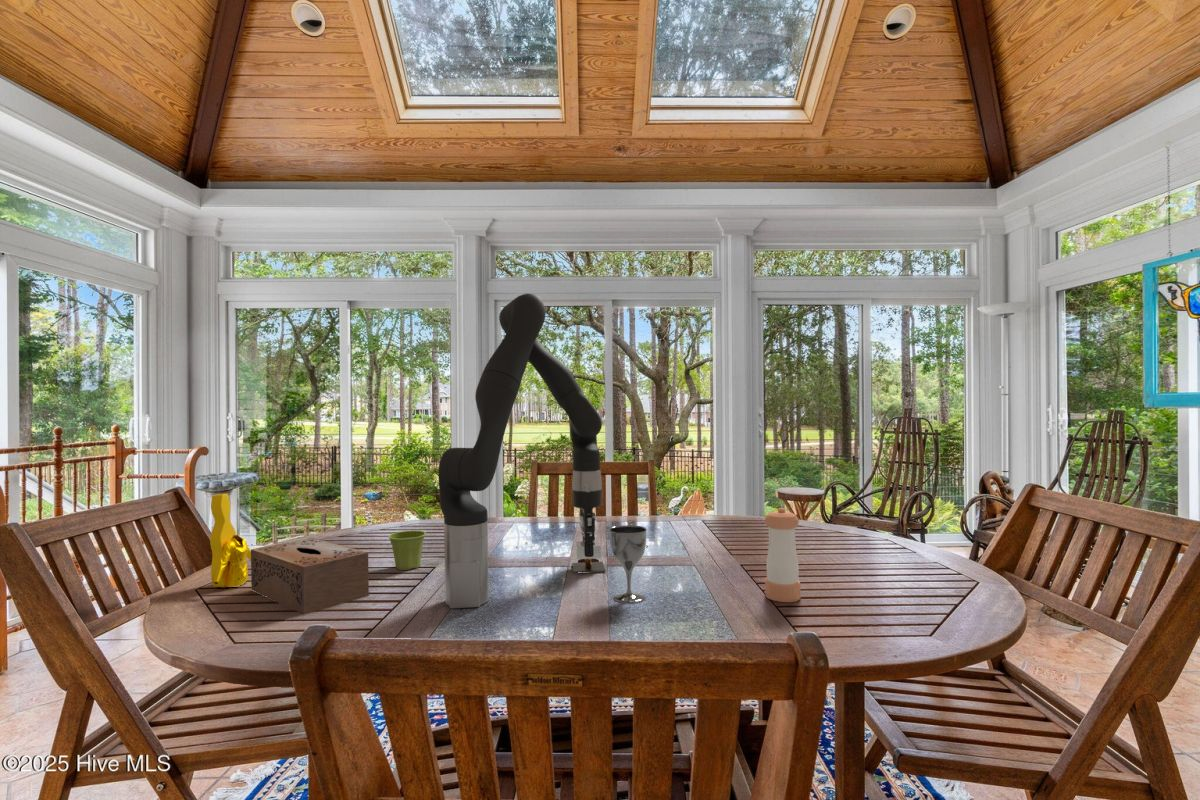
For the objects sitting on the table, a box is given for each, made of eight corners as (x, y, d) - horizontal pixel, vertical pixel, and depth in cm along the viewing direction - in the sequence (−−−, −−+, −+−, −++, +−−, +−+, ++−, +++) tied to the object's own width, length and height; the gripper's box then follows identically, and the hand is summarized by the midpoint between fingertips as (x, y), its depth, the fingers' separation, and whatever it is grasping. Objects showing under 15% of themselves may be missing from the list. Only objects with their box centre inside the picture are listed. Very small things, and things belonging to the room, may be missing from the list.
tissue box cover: (368, 596, 135) (368, 552, 135) (304, 615, 124) (303, 567, 124) (313, 577, 151) (312, 537, 151) (251, 592, 140) (250, 549, 140)
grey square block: (600, 557, 151) (600, 546, 151) (576, 558, 151) (576, 546, 151) (598, 552, 157) (598, 540, 157) (575, 552, 157) (575, 541, 157)
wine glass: (617, 605, 126) (615, 534, 126) (606, 594, 133) (605, 526, 133) (652, 601, 128) (651, 531, 128) (640, 590, 136) (639, 524, 136)
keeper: (605, 572, 150) (605, 550, 150) (573, 573, 149) (573, 551, 149) (602, 563, 158) (602, 542, 158) (572, 565, 157) (571, 543, 157)
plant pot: (420, 572, 153) (419, 538, 153) (383, 572, 154) (382, 538, 154) (431, 562, 163) (430, 530, 163) (396, 562, 163) (396, 530, 163)
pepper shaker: (758, 593, 132) (757, 506, 132) (785, 589, 135) (784, 504, 135) (779, 604, 125) (778, 512, 125) (807, 599, 128) (806, 509, 128)
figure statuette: (225, 597, 136) (223, 499, 136) (189, 597, 136) (188, 500, 136) (266, 574, 154) (265, 488, 154) (235, 575, 154) (234, 489, 154)
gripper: (571, 484, 161) (572, 547, 161) (573, 492, 146) (575, 561, 146) (598, 483, 161) (599, 546, 161) (604, 491, 147) (605, 560, 147)
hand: (588, 553), depth 154 cm, fingers closed on grey square block, 6 cm apart
